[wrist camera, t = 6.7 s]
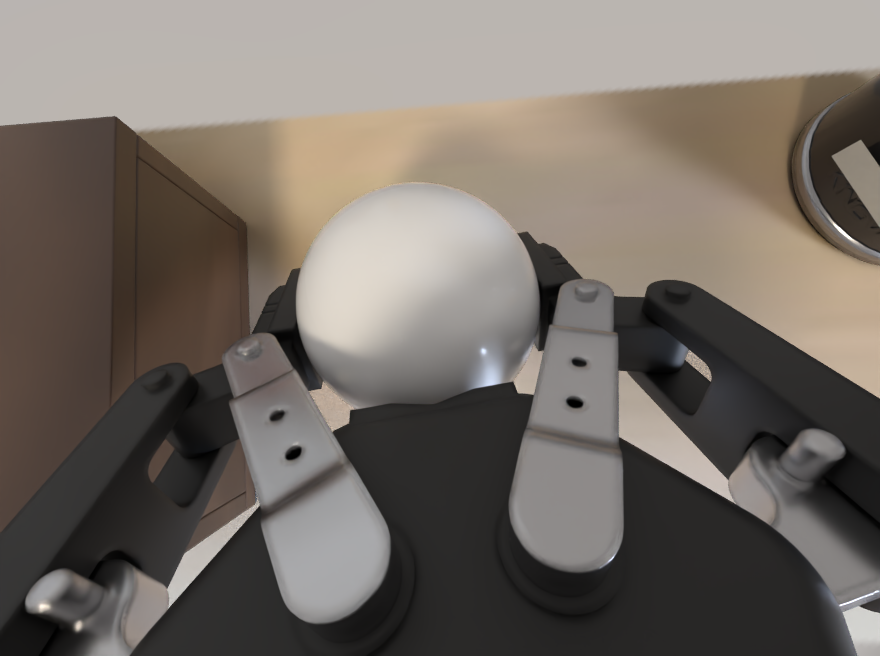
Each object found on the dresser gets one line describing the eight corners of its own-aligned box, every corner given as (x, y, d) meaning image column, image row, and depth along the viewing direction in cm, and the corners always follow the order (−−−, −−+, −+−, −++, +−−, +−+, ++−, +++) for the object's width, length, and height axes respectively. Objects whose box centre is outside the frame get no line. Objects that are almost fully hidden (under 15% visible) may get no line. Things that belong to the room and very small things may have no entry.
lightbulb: (399, 428, 17) (336, 517, 6) (338, 312, 18) (188, 208, 7) (515, 364, 18) (646, 341, 7) (452, 253, 18) (477, 69, 7)
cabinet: (-51, 538, 16) (-470, 677, 9) (-29, 247, 18) (-362, 155, 11) (255, 504, 17) (106, 610, 9) (246, 222, 18) (115, 115, 11)
